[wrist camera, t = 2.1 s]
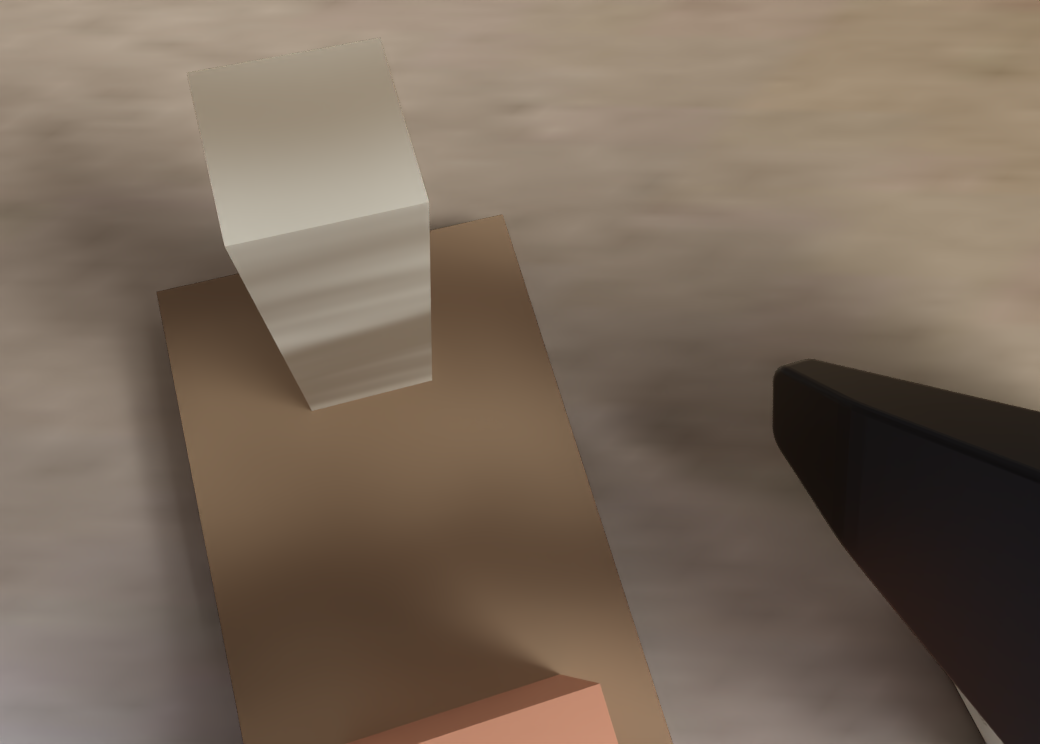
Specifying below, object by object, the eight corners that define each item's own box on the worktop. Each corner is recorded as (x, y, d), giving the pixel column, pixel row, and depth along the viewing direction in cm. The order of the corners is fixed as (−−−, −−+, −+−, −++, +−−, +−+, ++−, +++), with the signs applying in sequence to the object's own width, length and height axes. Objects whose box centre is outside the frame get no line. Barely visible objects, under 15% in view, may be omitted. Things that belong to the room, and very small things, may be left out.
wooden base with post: (723, 939, 19) (1016, 1239, 9) (325, 1096, 18) (189, 1649, 8) (499, 234, 24) (541, -43, 14) (170, 309, 22) (-32, 54, 13)
